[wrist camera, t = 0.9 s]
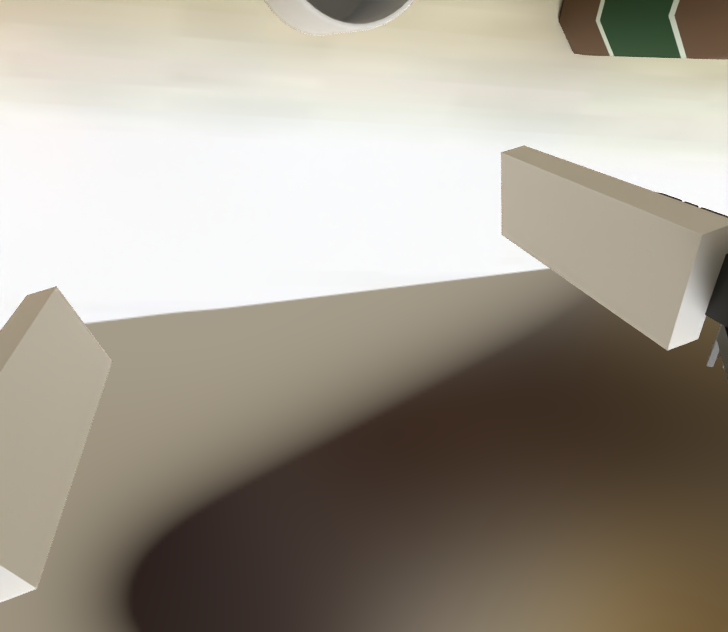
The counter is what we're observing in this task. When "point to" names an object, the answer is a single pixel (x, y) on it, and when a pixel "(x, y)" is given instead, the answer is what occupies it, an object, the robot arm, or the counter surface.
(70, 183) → the counter surface
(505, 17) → the counter surface
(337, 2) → the mug
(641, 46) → the beer bottle
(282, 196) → the counter surface
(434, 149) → the counter surface
